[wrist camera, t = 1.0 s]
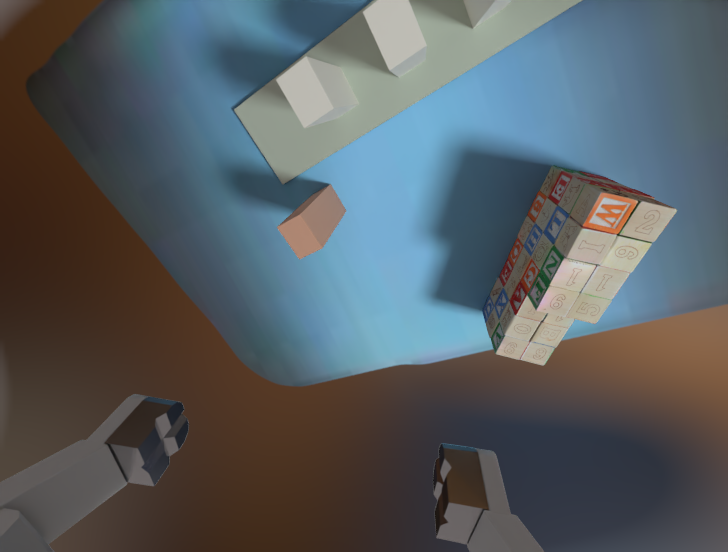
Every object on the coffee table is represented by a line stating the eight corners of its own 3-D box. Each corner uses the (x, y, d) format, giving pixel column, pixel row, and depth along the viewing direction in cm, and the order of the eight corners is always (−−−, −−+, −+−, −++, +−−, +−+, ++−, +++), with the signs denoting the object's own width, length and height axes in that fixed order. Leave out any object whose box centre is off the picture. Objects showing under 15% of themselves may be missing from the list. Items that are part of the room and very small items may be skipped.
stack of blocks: (522, 320, 47) (552, 386, 37) (481, 310, 47) (497, 372, 37) (606, 175, 36) (681, 209, 26) (550, 163, 36) (603, 191, 26)
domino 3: (408, 18, 32) (401, -19, 21) (425, 60, 33) (426, 45, 23) (381, 37, 33) (362, 12, 22) (399, 77, 34) (389, 70, 24)
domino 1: (340, 67, 34) (305, 56, 24) (359, 104, 36) (333, 108, 26) (318, 83, 36) (275, 79, 25) (337, 118, 37) (304, 128, 27)
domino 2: (330, 184, 42) (300, 214, 31) (346, 210, 43) (322, 248, 33) (312, 194, 43) (277, 227, 32) (328, 220, 44) (299, 259, 34)
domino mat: (612, -185, 24) (616, -191, 24) (637, -34, 28) (641, -37, 27) (236, 109, 39) (233, 109, 38) (284, 183, 42) (282, 184, 42)
